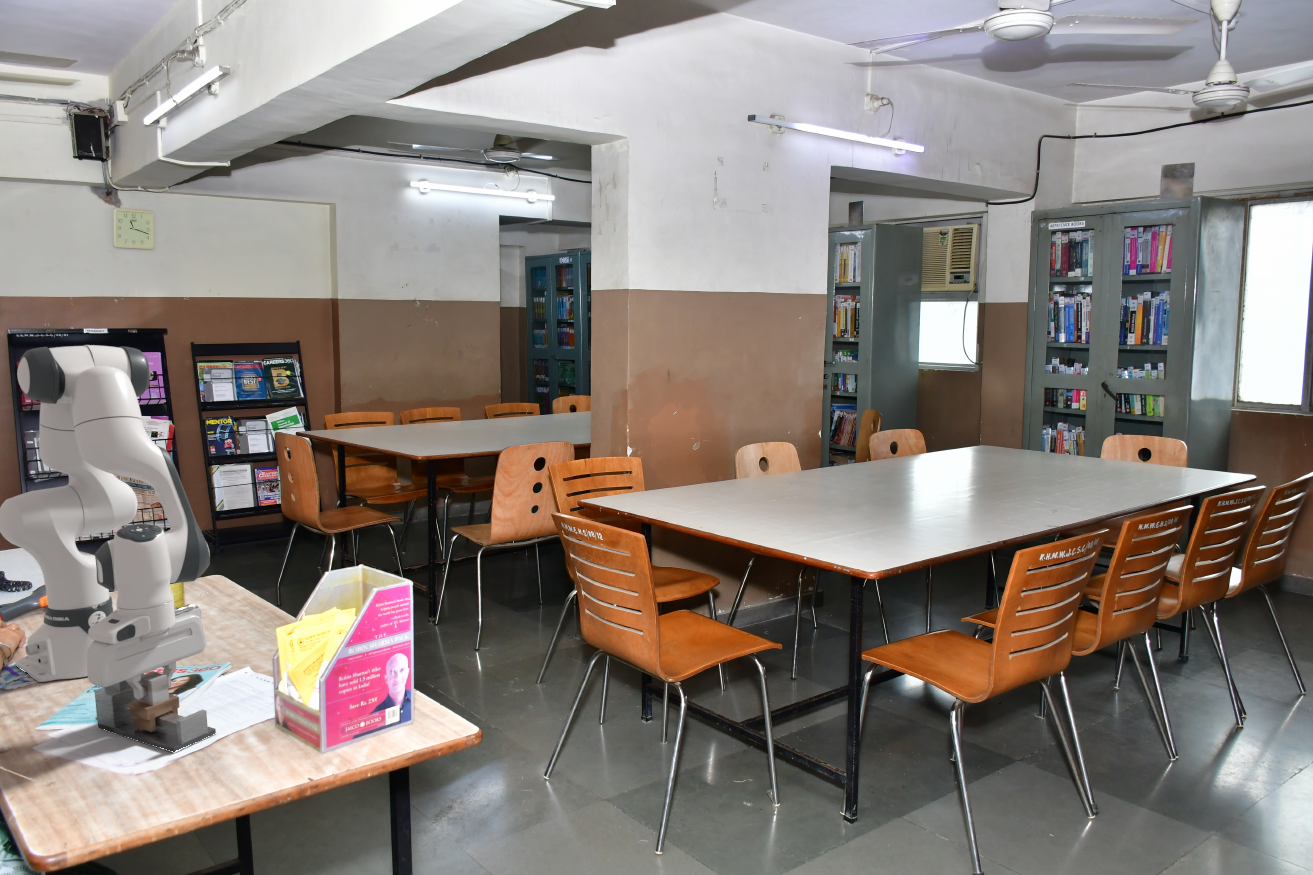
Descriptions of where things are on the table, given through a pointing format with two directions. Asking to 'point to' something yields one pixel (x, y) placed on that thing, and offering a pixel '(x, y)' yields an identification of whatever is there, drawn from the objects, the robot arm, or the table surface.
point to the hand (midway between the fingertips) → (153, 692)
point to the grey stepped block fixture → (169, 726)
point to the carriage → (153, 701)
